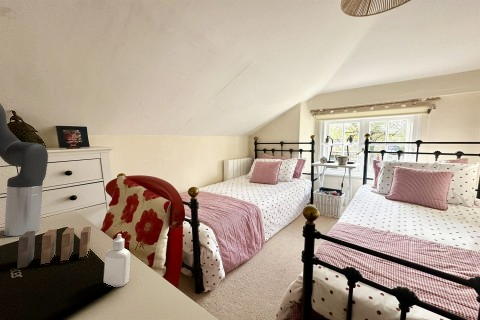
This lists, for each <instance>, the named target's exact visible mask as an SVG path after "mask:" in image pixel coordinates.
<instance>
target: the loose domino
mask: <svg viewBox="0 0 480 320" xmlns="http://www.w3.org/2000/svg"><path fill="white" fill-rule="evenodd" d="M18 237H19V238H18V247H17V248H18V249H17V250H18V251H17V266H16V269H21V268H27V267H28V266H29V265H30V263H31V262H32V261H33V260H34V259H33V258H34V257H35V243H36V241H35V239H36V232H35V231H27V232H25V233H24V234H23V235H20V236H18Z"/></svg>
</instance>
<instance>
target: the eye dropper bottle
mask: <svg viewBox="0 0 480 320" xmlns="http://www.w3.org/2000/svg"><path fill="white" fill-rule="evenodd" d="M112 242H113V243H112V248H111V249H109V250H107V251H106V252H105V254H104V255H105V257H104V269H103V284H104V283H106V284H108V285H111V286H113V287H114V288H121V287H124V286H125V285H126V284H128V282H130V270H131V269H130V268H131V267H130V266H131V252H130V251H129V250H128V249H126V248H125V238H123V237H122V234H121V233H118V234H117V236H116V238H114V239H113V240H112ZM108 285H107V286H108ZM111 286H110V287H111ZM113 287H112V288H113Z"/></svg>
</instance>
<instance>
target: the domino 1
mask: <svg viewBox="0 0 480 320" xmlns="http://www.w3.org/2000/svg"><path fill="white" fill-rule="evenodd" d="M56 241H57V228H56V229H54V228H53V229H48V230H47V231H46V232H45V233H44V234H43V235H42V239H41V254H40V255H41V257H40V265H41V264H45V263H51V262H52V261H53V259H54V258H55V257H54V255H55V256H56V243H57V242H56ZM53 257H54V258H53ZM52 258H53V259H52ZM51 260H52V261H51ZM50 261H51V262H50ZM45 265H46V264H45Z"/></svg>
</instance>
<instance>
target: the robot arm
mask: <svg viewBox="0 0 480 320" xmlns="http://www.w3.org/2000/svg"><path fill="white" fill-rule="evenodd" d="M7 121H8V120H7V113H6V110H5V108H4V107H3V105H2V104H1V103H0V158H1V159H2V160H3V161H4V163H6V164H8V165H10V166H12V167H16V168H17V167H18V168H20V169H19V173H18V174H17V175H15V176H11V177H9V178H8V179H7V182H6V199H5V213H4V214H5V215H4V230H3V235H4V236H7V237H17V236H18V237H21V236H22V235H23V234H24V233H25V232H27V231H35V233H38V232H39V231H40V230H41V217H42V201H43V200H42V199H43V184H44V180H45V178H46V175H47V171H48V168H47V167H48V162H49V153H48V149H47V147H46V146H45V145H43V144H41V143H37V142H28V141H27V142H24V141H21V140H20V139H19V138H17V136H16V135H15V134H14V133H13V132H12V131H11V130H10V127H9V126H8V123H7Z"/></svg>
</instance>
